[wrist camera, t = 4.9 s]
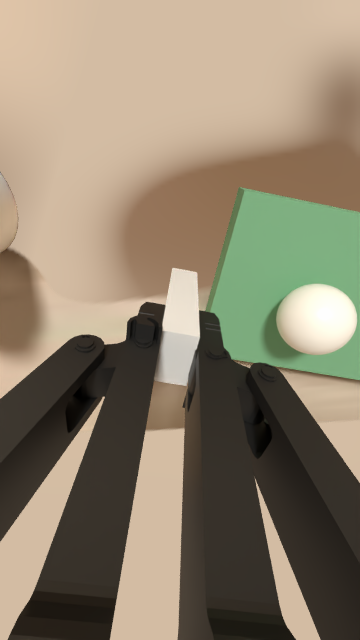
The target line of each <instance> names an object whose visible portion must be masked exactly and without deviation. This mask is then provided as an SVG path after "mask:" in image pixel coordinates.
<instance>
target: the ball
mask: <svg viewBox="0 0 360 640" xmlns="http://www.w3.org/2000/svg"><path fill="white" fill-rule="evenodd" d="M276 323H277V328H278V331H279V333H280V335H281V337H282V338H283V340H284V341H285V342H286V343H287V344H288V345H289V346H291V347H292V348H294V349H295V350H297V351H299V352H302V353H306V354H311V355H323V354H328V353H331V352H334V351H336V350H338V349H340V348H341V347H343V346H344V345H345V344H346V343H347V342H348V341H349V340H350V339H351V337H352V336H353V334H354V332H355V330H356V326H357V313H356V309H355V306H354V304H353V303H352V301H351V300H350V298H349V297H348V296H347V295H346V294H345V293H343V292H342V291H340V290H339V289H337V288H335V287H332V286H329V285H325V284H308V285H304V286H301V287H299V288H297V289H295V290H293V291H292V292H290V293H289V294H288V295H287V296H286V297H285V298H284V299H283V300H282V302H281V304H280V305H279V308H278V310H277V316H276Z"/></svg>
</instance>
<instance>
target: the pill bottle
mask: <svg viewBox="0 0 360 640" xmlns="http://www.w3.org/2000/svg"><path fill="white" fill-rule="evenodd" d="M17 229H18V213H17V206H16V203H15V200H14V197H13V194H12V192H11V189H10V187H9V185H8V184H7V181H6V180H5V178H4V177H3V175H2V174H1V172H0V253H1V252H3V251H4V250H5V249H7V248H8V247H9V246H10V245H11V243H12V242H13V240H14V238H15V235H16V232H17Z"/></svg>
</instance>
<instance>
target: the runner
mask: <svg viewBox="0 0 360 640" xmlns="http://www.w3.org/2000/svg"><path fill="white" fill-rule="evenodd" d="M308 284H325V285H329V286H332V287H335V288H337V289H339V290H340V291H342V292H343V293H345V294H346V295H347V296H348V297H349V298H350V300H351V301H352V303H353V304H354V306H355V309H356V313H357V326H356V330H355V332H354V334H353V336H352V337H351V339H350V340H349V341H348V342H347V343H346V344H345V345H344V346H343V347H341V348H340V349H338V350H336V351H334V352H331V353H328V354H323V355H311V354H306V353H302V352H299V351H297V350H295V349H294V348H292V347H291V346H289V345H288V344H287V343H286V342H285V341H284V340H283V338H282V337H281V335H280V333H279V331H278V328H277V323H276V316H277V310H278V308H279V305H280V304H281V302H282V300H283V299H284V298H285V297H286V296H287V295H288V294H289V293H290V292H292V291H293V290H295V289H297V288H299V287H301V286H304V285H308ZM206 312H211V313H215V315H216V316H217V317H218V318H219V321H220V327H221V333H222V339H223V345H224V348H225V349H226V350H227V351H228V352H229V354H230V356H231V359H234V360H240V361H246V362H252V363H258V362H261V363H267V364H269V365H272V366H277V367H283V368H289V369H295V370H301V371H307V372H313V373H319V374H325V375H331V376H337V377H344V378H350V379H356V380H360V212H356V211H351V210H346V209H342V208H337V207H332V206H327V205H323V204H318V203H313V202H308V201H303V200H299V199H294V198H289V197H284V196H279V195H274V194H270V193H265V192H260V191H255V190H250V189H245V188H241V187H239V189H238V193H237V197H236V201H235V204H234V208H233V211H232V215H231V219H230V222H229V226H228V230H227V234H226V237H225V241H224V244H223V248H222V252H221V256H220V259H219V263H218V267H217V270H216V274H215V278H214V281H213V285H212V289H211V292H210V296H209V300H208V303H207V307H206Z"/></svg>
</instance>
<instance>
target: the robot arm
mask: <svg viewBox="0 0 360 640" xmlns="http://www.w3.org/2000/svg"><path fill="white" fill-rule="evenodd" d="M154 381H158V382H164V383H170V384H177V385H183V386H186V385H187V382H188V389H187V393H186V396H185V400H184V403H183V408H185V436H184V469H183V502H182V534H181V569H180V600H179V629H178V640H296V639H295V638H294V636H293V635H292V633H291V632H290V630H289V629H288V628H287V626H286V624H285V622H284V619H283V617H282V613H281V609H280V606H279V600H278V596H277V591H276V585H275V580H274V575H273V570H272V565H271V559H270V554H269V550H268V544H267V539H266V534H265V529H264V524H263V519H262V513H261V508H260V503H259V498H258V493H257V488H256V483H255V479H256V481H257V484H258V486H259V488H260V491H261V493H262V496H263V498H264V501H265V503H266V506H267V508H268V510H269V513H270V516H271V518H272V520H273V523H274V525H275V528H276V530H277V533H278V535H279V538H280V540H281V543H282V545H283V548H284V550H285V553H286V555H287V558H288V560H289V563H290V565H291V567H292V570H293V572H294V574H295V577H296V580H297V582H298V585H299V587H300V589H301V592H302V595H303V597H304V600H305V602H306V604H307V607H308V609H309V612H310V614H311V617H312V619H313V622H314V624H315V627H316V629H317V632H318V634H319V637H320V639H321V640H360V483H359V482H358V480H357V479H356V477H355V476H354V475H353V473H352V472H351V470H350V469H349V467H348V466H347V465H346V463H345V462H344V460H343V459H342V457H341V456H340V455H339V453H338V452H337V450H336V449H335V448H334V447H333V445H332V443H331V442H330V441H329V439H328V438H327V436H326V435H325V434H324V432H323V431H322V429H321V428H320V426H319V425H318V424H317V422H316V421H315V419H314V418H313V417H312V415H311V414H310V412H309V411H308V410H307V408H306V407H305V405H304V404H303V402H302V401H301V400H300V398H299V397H298V395H297V394H296V393H295V391H294V390H293V388H292V387H291V386H290V384H289V383H288V381H287V380H286V379H285V377H284V376H283V374H282V373H281V372H280V371H279V370H278V369H276V368H275V367H273V366H272V365H269V364H267V363H261V362H258V363H254V364H253V365H251V367H250V368H248V367H245V366H243V365H240V364H238V363H236V362H234V361H233V360H231V356H230V354H229V352H228V351H227V350H226V349H225V348H224V345H223V339H222V333H221V327H220V321H219V318H218V317H217V316H216V315H215V313H211V312H206V311H200V310H199V305H198V282H197V272H192V271H187V270H181V269H176V268H173V269H172V275H171V280H170V285H169V291H168V296H167V301H166V305H162V304H156V303H151V302H146V303H144V304H143V305H142V306H141V307H140V310H139V313H138V316H134V317H132V318H130V319H129V321H128V322H127V335H126V340H125V341H124V342H121V343H118V344H107V345H104V342H103V341H102V339H101V338H99V337H97V336H94V335H79V336H76V337H74V338H72V339H70V340H69V341H68V342H66V343H65V344H64V345H63V346H62V347H61V348H59V349H58V350H57V351H56V352H55V353H54V354H52V355H51V356H50V357H49V358H48V359H47V360H45V361H44V362H43V363H42V364H41V365H40V366H38V367H37V368H36V369H35V370H34V371H33V372H31V373H30V374H29V375H28V376H27V377H26V378H24V379H23V380H22V381H21V382H20V383H19V384H17V385H16V386H15V387H14V388H13V389H12V390H10V391H9V392H8V393H7V394H6V395H4V396H3V397H2V398H1V399H0V541H1V540H2V538H3V537H4V536H5V534H6V533H7V532H8V530H9V529H10V527H11V526H12V524H13V523H14V521H15V520H16V519H17V517H18V516H19V514H20V513H21V512H22V510H23V509H24V508H25V506H26V505H27V503H28V502H29V501H30V499H31V498H32V496H33V495H34V493H35V492H36V491H37V489H38V488H39V487H40V485H41V484H42V482H43V481H44V479H45V478H46V477H47V475H48V474H49V473H50V471H51V470H52V468H53V467H54V466H55V464H56V463H57V461H58V460H59V459H60V457H61V456H62V454H63V453H64V452H65V450H66V449H67V447H68V446H69V444H70V443H71V441H72V440H73V439H74V437H75V436H76V435H77V433H78V432H79V431H80V429H81V428H82V426H83V425H84V424H85V422H86V421H87V419H88V418H89V417H90V415H91V414H92V412H93V411H94V409H95V408H96V407H97V405H98V404H99V402H100V401H101V400H102V397H104V396H105V399H104V401H103V404H102V407H101V410H100V412H99V415H98V418H97V421H96V423H95V426H94V429H93V432H92V434H91V437H90V440H89V443H88V446H87V448H86V451H85V454H84V456H83V459H82V462H81V465H80V467H79V470H78V473H77V475H76V478H75V481H74V484H73V486H72V489H71V492H70V495H69V497H68V500H67V503H66V506H65V508H64V511H63V514H62V517H61V519H60V522H59V525H58V527H57V530H56V533H55V536H54V538H53V541H52V544H51V547H50V550H49V552H48V555H47V558H46V560H45V563H44V566H43V569H42V571H41V574H40V577H39V580H38V582H37V585H36V587H35V590H34V592H33V594H32V596H31V598H30V600H29V602H28V603H27V605H26V606H25V608H24V609H23V611H22V612H21V614H20V615H19V617H18V619H17V621H16V623H15V625H14V627H13V629H12V631H11V634H10V635H9V638H8V640H110V634H111V629H112V622H113V617H114V611H115V605H116V599H117V593H118V587H119V581H120V576H121V570H122V564H123V558H124V552H125V546H126V540H127V535H128V528H129V522H130V517H131V511H132V505H133V499H134V494H135V487H136V482H137V476H138V470H139V464H140V458H141V452H142V447H143V441H144V435H145V429H146V423H147V417H148V411H149V406H150V400H151V394H152V388H153V382H154ZM254 476H255V477H254Z"/></svg>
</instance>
